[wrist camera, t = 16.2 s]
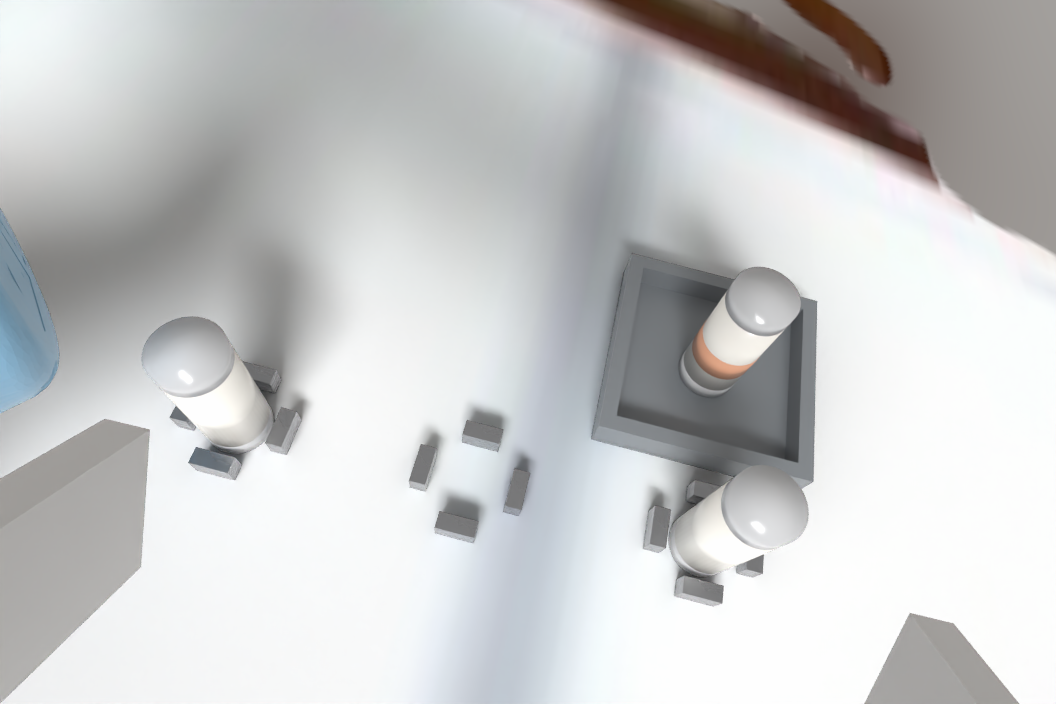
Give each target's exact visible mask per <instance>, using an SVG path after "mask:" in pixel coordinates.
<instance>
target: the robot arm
mask: <svg viewBox="0 0 1056 704" xmlns="http://www.w3.org/2000/svg"><path fill="white" fill-rule="evenodd" d="M58 365H59V347H58V340H57V336H56V332H55V328H54V325H53V322H52V319H51V316H50V313H49V310H48V308H47V305H46V303H45V300H44V298H43V295H42V293H41V291H40V288H39V286H38V284H37V281H36V279H35V277H34V274H33V272H32V270H31V268H30V265H29V263H28V261H27V259H26V257H25V255H24V253H23V251H22V249H21V247H20V245H19V243H18V241H17V239H16V237H15V235H14V233H13V231H12V229H11V227H10V225H9V223H8V221H7V220H6V218H5V216H4V214H3V212H2V210H1V208H0V413H2V412H4V411H6V410H8V409H10V408H12V407H14V406H16V405H18V404H21V403H23V402H25V401H27V400H29V399H31V398H33V397H35V396H36V395H38V394H39V393H40V392H41V391H43V390H44V389H45V388H46V387H47V386H48V385H49V384H50V383H51V381H52V379H53V377H54V376H55V374H56V371H57V369H58ZM149 435H150V430H149V429H145V428H141V427H136V426H132V425H128V424H124V423H120V422H116V421H112V420H107V419H104V420H102V421H100V422H98V423H97V424H95V425H93V426H91V427H90V428H88V429H86V430H84V431H83V432H81V433H79V434H77V435H76V436H74V437H72V438H70V439H69V440H67V441H65V442H64V443H62V444H60V445H58V446H57V447H55V448H53V449H51V450H50V451H48V452H46V453H44V454H43V455H41V456H39V457H37V458H36V459H34V460H32V461H30V462H29V463H27V464H25V465H23V466H22V467H20V468H18V469H16V470H15V471H13V472H11V473H10V474H8V475H6V476H4V477H3V478H1V479H0V703H1V702H2V701H3V700H4V699H5V698H6V697H7V696H8V695H9V694H10V693H11V692H12V691H13V690H14V689H16V688H17V687H18V686H19V685H20V684H21V683H22V682H23V681H24V680H25V679H26V678H27V677H28V676H29V675H30V674H31V673H32V672H33V671H34V670H35V669H36V668H37V667H38V666H39V665H40V664H41V663H42V662H43V661H44V660H45V659H46V658H48V657H49V656H50V655H51V654H52V653H53V652H54V651H55V650H56V649H57V648H58V647H59V646H60V645H61V644H62V643H63V642H64V641H65V640H66V639H67V638H68V637H69V636H70V635H71V634H72V633H73V632H74V631H75V630H76V629H77V628H78V627H79V626H81V625H82V624H83V623H84V622H85V621H86V620H87V619H88V618H89V617H90V616H91V615H92V614H93V613H94V612H95V611H96V610H97V609H98V608H99V607H100V606H101V605H102V604H103V603H104V602H105V601H106V600H107V599H108V598H109V597H110V596H111V595H112V594H114V593H115V592H116V591H117V590H118V589H119V588H120V587H121V586H122V585H123V584H124V583H125V582H126V581H127V580H128V579H129V578H130V577H131V576H132V575H133V574H134V573H135V572H136V571H137V570H138V569H139V568H140V567H141V558H142V542H143V527H144V512H145V496H146V481H147V465H148V450H149ZM865 704H1019V703H1018V702H1017V700H1016V699H1015V698H1014V697H1013V696H1012V694H1011V693H1010V692H1009V691H1008V689H1007V688H1006V687H1005V686H1004V685H1003V683H1002V682H1001V681H1000V680H999V678H998V677H997V676H996V675H995V674H994V672H993V671H992V670H991V669H990V667H989V666H988V665H987V664H986V663H985V661H984V660H983V659H982V658H981V656H980V655H979V654H978V653H977V652H976V650H975V649H974V648H973V647H972V645H971V644H970V643H969V642H968V641H967V639H966V638H965V637H964V636H963V635H962V633H961V632H960V631H959V630H958V628H957V627H956V626H955V625H954V624H953V623H949V622H945V621H941V620H937V619H932V618H928V617H924V616H920V615H916V614H912V613H910V614H909V616H908V618H907V620H906V622H905V624H904V626H903V628H902V630H901V632H900V634H899V636H898V638H897V640H896V642H895V644H894V646H893V648H892V650H891V652H890V654H889V656H888V658H887V660H886V662H885V664H884V666H883V668H882V670H881V672H880V674H879V676H878V678H877V680H876V682H875V684H874V686H873V688H872V690H871V692H870V694H869V696H868V698H867V700H866V702H865Z"/></svg>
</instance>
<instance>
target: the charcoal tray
mask: <svg viewBox="0 0 1056 704" xmlns="http://www.w3.org/2000/svg"><path fill="white" fill-rule="evenodd" d="M733 281H734V279H730V278H726V277H722V276H718V275H714V274H710V273H707V272H703V271H699V270H695V269H691V268H687V267H684V266H680V265H676V264H672V263H668V262H664V261H660V260H657V259H653V258H649V257H645V256H641V255H637V254H633V253H632V255H631V257H630V259H629V262H628V264H627V266H626V269H625V271H624V275H623V280H622V285H621V290H620V295H619V300H618V305H617V310H616V315H615V320H614V325H613V330H612V335H611V341H610V346H609V351H608V356H607V361H606V366H605V371H604V376H603V381H602V386H601V391H600V396H599V401H598V406H597V412H596V417H595V422H594V427H593V432H592V437H591V439H593V440H596V441H600V442H604V443H608V444H612V445H615V446H619V447H623V448H627V449H631V450H635V451H638V452H642V453H646V454H650V455H654V456H657V457H661V458H665V459H669V460H673V461H677V462H680V463H684V464H688V465H692V466H696V467H699V468H703V469H707V470H711V471H715V472H719V473H722V474H726V475H730V476H734V477H735V476H736V475H738V474H739V473H740V472H742V471H743V470H745V469H747V468H749V467H751V466H756V465H767V466H772V467H775V468H777V469H780V470H782V471H783V472H785V473H787V474H788V475H789V476H790V477H791V478H793V479H794V480H795V482H796V483H797V484H798V485H799V487H800V488H801V489H802V488H803V487H805V486H807V485H809V484H810V483H812V482H813V474H814V426H815V378H816V330H817V301H814V300H811V299H807V298H803V297H800V300H801V307H800V311H799V313H798V315H797V317H796V318H795V319H794V320H793V321H792V322H791V323H790V324H789V325H788V327H787V328H786V329H785V330H784V331H783V332H782V333H781V334H780V335H779V336H778V337H777V338H776V340H775V341H774V342H773V343H772V344H771V345H770V346H769V347H768V348H767V349H766V350H765V351H764V352H763V354H762V355H761V356H760V357H759V358H758V359H757V361H756V362H755V363H754V364H753V365H752V366H751V367H750V368H749V369H748V370H747V371H746V372H745V373H744V374H743V375H742V376H741V377H740V378H739V380H738V381H737V382H736V383H735V384H734V385H733V386H732V387H731V388H730V389H729V390H728V391H727V392H726V393H725V394H723V395H721V396H719V397H715V398H707V397H702V396H699V395H697V394H695V393H693V392H692V391H690V390H689V389H688V388H687V387H686V386H685V385H684V383H683V382H682V380H681V378H680V375H679V371H678V364H679V361H680V358H681V356H682V355H683V354H684V352H685V351H686V349H687V348H688V346H689V345H690V343H691V342H692V341H693V339H694V337H695V336H696V334H697V333H698V331H699V330H700V328H701V327H702V326H703V324H704V323H705V321H706V320H707V319H708V317H709V316H710V315H711V313H712V312H713V310H714V309H715V307H716V306H717V305H718V303H719V302H720V300H721V299H722V297H723V296H724V294H725V293H726V292H727V290H728V289H729V287H730V286H731V284H732V283H733Z"/></svg>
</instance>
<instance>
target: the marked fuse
mask: <svg viewBox="0 0 1056 704" xmlns="http://www.w3.org/2000/svg"><path fill="white" fill-rule="evenodd" d="M800 307H801V300H800V296H799V293H798V291H797V289H796V287H795V286H794V284H793V283H792V282H791V281H790V280H789V279H788V278H787V277H785V276H784V275H783V274H781V273H779V272H777V271H775V270H773V269H769V268H765V267H752V268H748V269H746V270H744V271H742V272H741V273H740V274H739V275H738V276H737V277H736V279H735V280H734V281H733V283H732V284H731V286H730V287H729V289H728V290H727V292H726V293H725V294H724V296H723V297H722V299H721V300H720V302H719V303H718V305H717V306H716V307H715V309H714V310H713V312H712V313H711V315H710V316H709V317H708V319H707V320H706V321H705V323H704V324H703V326H702V327H701V328H700V330H699V331H698V333H697V334H696V336H695V337H694V339H693V341H692V342H691V343H690V345H689V346H688V348H687V349H686V351H685V352H684V354H683V355H682V356H681V358H680V361H679V364H678V371H679V375H680V378H681V380H682V382H683V383H684V385H685V386H686V387H687V388H688V389H689V390H690V391H692V392H693V393H695V394H697V395H699V396H702V397H707V398H715V397H719V396H721V395H723V394H725V393H726V392H727V391H728V390H729V389H730V388H731V387H732V386H733V385H734V384H735V383H736V382H737V381H738V380H739V378H740V377H741V376H742V375H743V374H744V373H745V372H746V371H747V370H748V369H749V368H750V367H751V366H752V365H753V364H754V363H755V362H756V361H757V359H758V358H759V357H760V356H761V355H762V354H763V352H764V351H765V350H766V349H767V348H768V347H769V346H770V345H771V344H772V343H773V342H774V341H775V340H776V338H777V337H778V336H779V335H780V334H781V333H782V332H783V331H784V330H785V329H786V328H787V327H788V325H789V324H790V323H791V322H792V321H793V320H794V319H795V318H796V317H797V315H798V313H799V311H800Z"/></svg>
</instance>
